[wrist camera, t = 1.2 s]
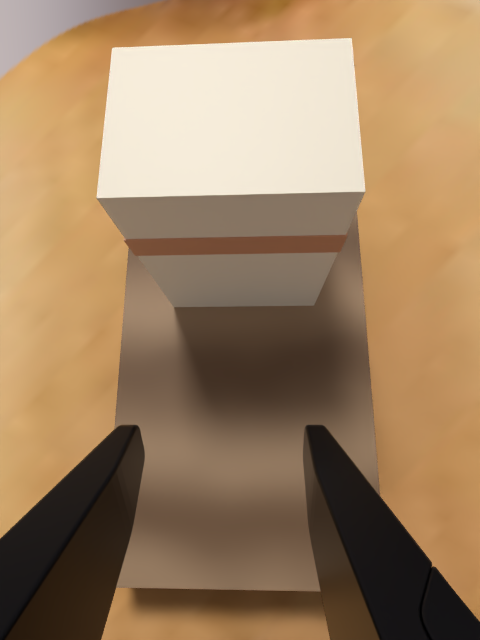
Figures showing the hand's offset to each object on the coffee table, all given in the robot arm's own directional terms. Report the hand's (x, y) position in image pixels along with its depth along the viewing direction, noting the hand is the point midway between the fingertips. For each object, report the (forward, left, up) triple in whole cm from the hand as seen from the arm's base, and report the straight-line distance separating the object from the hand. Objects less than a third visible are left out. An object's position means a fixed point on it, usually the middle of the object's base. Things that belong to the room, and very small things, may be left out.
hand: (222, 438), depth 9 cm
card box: (+8, +2, -10) cm, 13 cm away
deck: (+3, +1, -14) cm, 14 cm away
